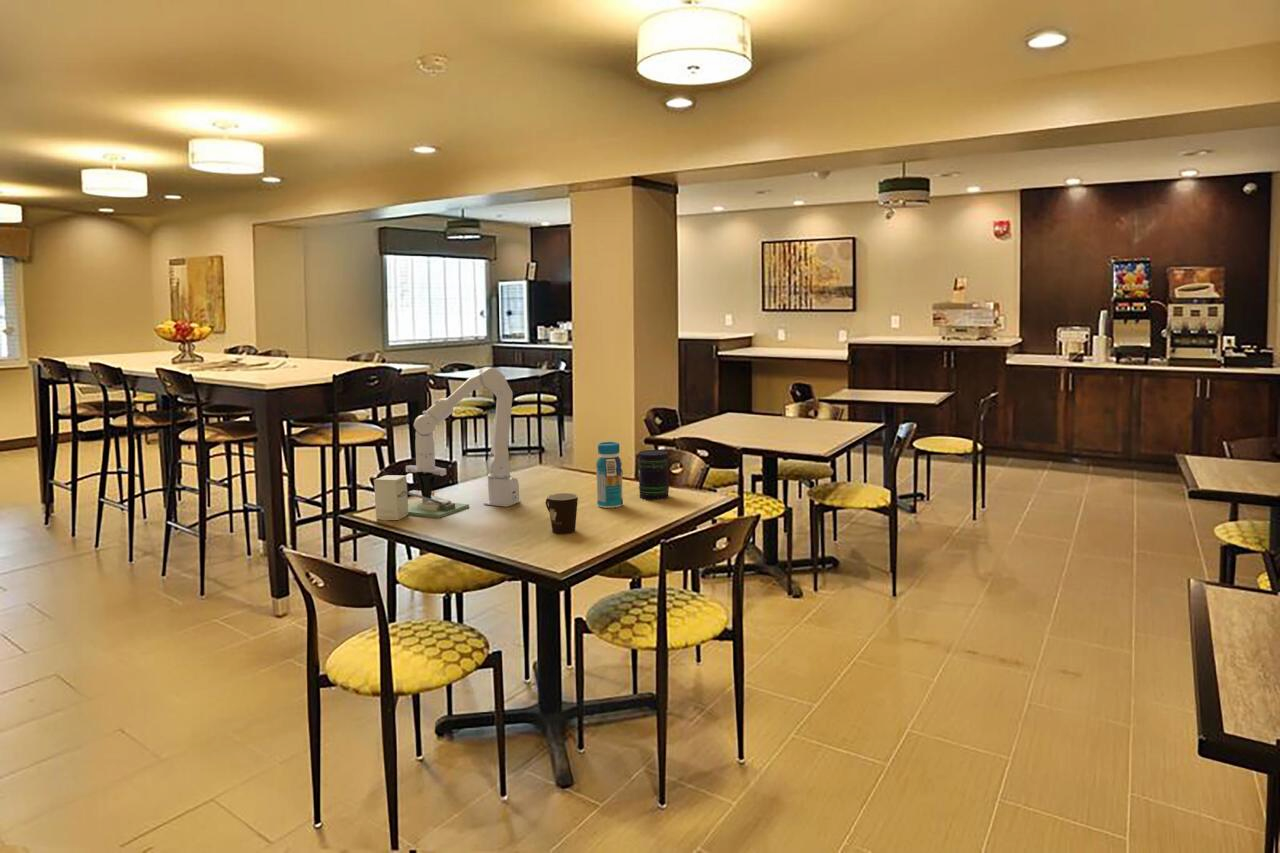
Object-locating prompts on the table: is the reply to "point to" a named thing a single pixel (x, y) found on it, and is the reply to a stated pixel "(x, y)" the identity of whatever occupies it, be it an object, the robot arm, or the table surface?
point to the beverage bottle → (609, 476)
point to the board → (434, 509)
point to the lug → (427, 500)
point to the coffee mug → (562, 512)
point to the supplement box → (391, 497)
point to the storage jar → (653, 474)
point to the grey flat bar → (430, 498)
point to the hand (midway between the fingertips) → (426, 496)
